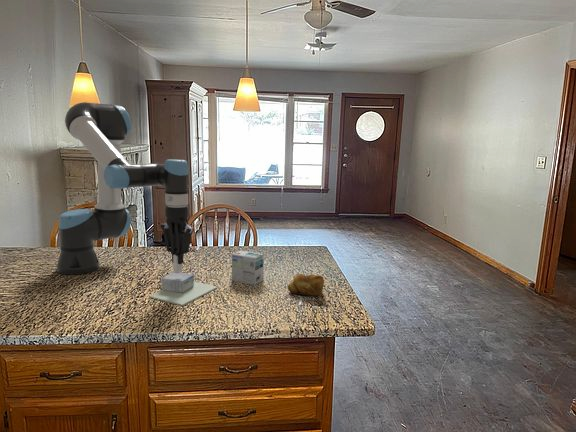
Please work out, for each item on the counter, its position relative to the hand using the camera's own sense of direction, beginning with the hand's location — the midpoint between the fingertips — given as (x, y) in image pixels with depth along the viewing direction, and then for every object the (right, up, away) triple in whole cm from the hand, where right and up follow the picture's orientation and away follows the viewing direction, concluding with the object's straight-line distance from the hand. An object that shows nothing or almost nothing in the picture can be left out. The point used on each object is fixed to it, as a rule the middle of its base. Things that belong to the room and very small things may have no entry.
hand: (177, 272), depth 144 cm
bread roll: (+45, -8, +4) cm, 46 cm away
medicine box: (-5, -3, +4) cm, 7 cm away
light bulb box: (+23, -5, +14) cm, 28 cm away
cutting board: (+2, -7, 0) cm, 8 cm away
